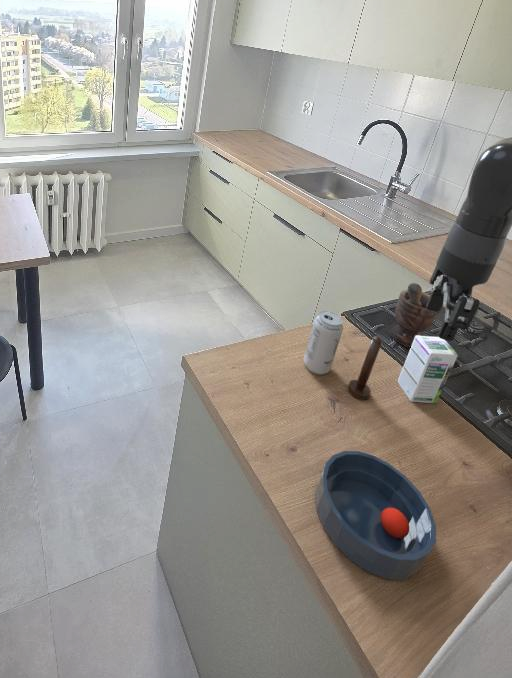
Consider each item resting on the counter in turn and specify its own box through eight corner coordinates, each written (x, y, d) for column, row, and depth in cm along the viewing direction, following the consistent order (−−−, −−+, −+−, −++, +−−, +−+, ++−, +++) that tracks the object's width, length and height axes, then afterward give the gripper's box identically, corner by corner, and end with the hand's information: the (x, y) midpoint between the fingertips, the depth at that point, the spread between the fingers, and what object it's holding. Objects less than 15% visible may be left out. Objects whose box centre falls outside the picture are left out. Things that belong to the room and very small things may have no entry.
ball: (389, 513, 72) (396, 498, 70) (410, 538, 68) (418, 524, 67) (372, 521, 70) (378, 506, 69) (392, 547, 67) (400, 533, 65)
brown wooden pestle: (357, 382, 98) (377, 328, 91) (373, 397, 94) (395, 342, 87) (343, 386, 96) (362, 332, 90) (358, 402, 93) (379, 347, 86)
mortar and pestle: (420, 362, 104) (448, 298, 96) (381, 346, 109) (405, 283, 101) (424, 337, 113) (450, 275, 105) (388, 322, 117) (410, 263, 109)
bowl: (364, 460, 80) (372, 440, 78) (447, 558, 66) (461, 536, 64) (294, 487, 75) (301, 466, 73) (369, 600, 61) (381, 578, 59)
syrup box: (410, 402, 93) (432, 353, 87) (395, 381, 99) (415, 333, 93) (436, 404, 93) (460, 355, 87) (420, 382, 98) (441, 335, 93)
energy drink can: (327, 380, 98) (343, 331, 92) (300, 369, 101) (314, 320, 95) (331, 364, 103) (346, 315, 96) (305, 353, 105) (319, 306, 99)
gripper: (514, 278, 65) (474, 356, 72) (481, 236, 77) (450, 306, 84) (458, 266, 67) (424, 342, 74) (434, 228, 80) (407, 296, 86)
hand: (438, 323), depth 79 cm, fingers open, 8 cm apart
